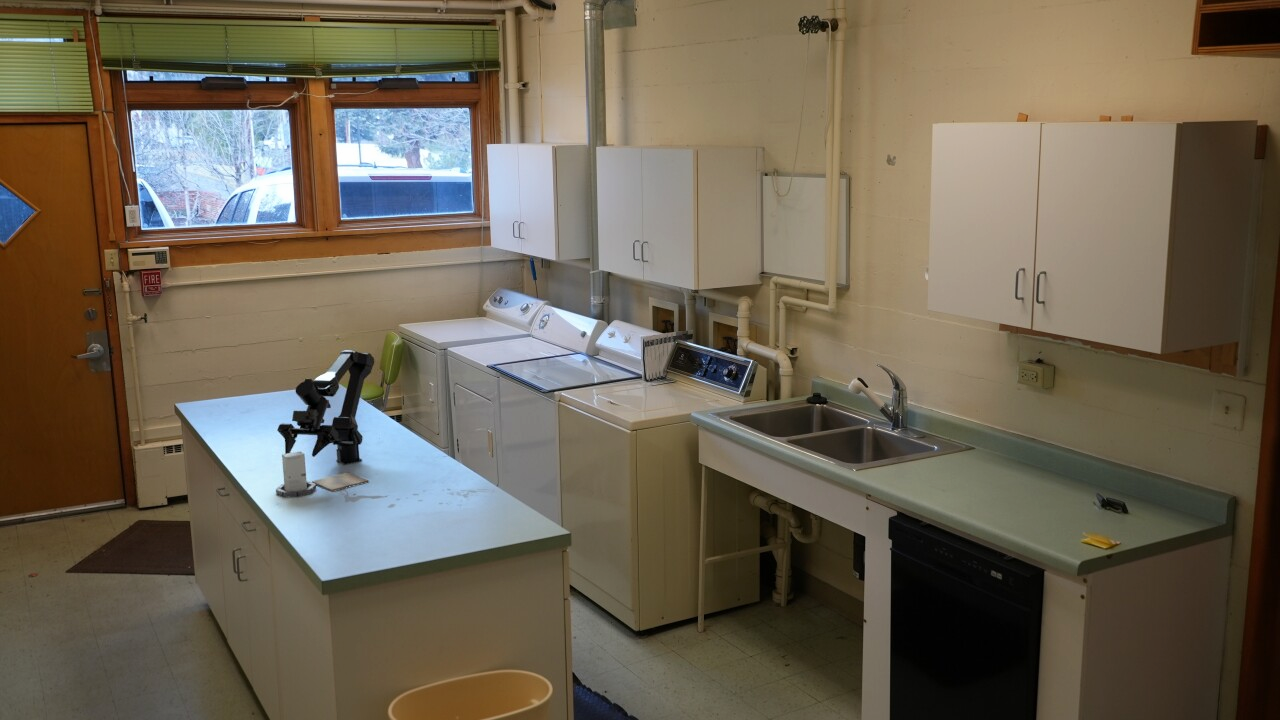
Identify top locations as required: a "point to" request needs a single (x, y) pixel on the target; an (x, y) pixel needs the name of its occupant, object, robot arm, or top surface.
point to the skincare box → (294, 471)
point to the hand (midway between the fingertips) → (299, 455)
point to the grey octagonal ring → (309, 490)
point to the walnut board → (339, 481)
